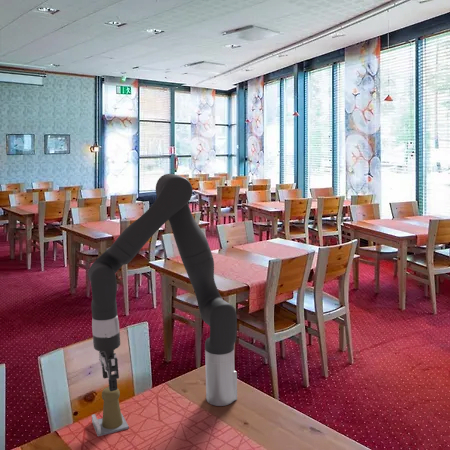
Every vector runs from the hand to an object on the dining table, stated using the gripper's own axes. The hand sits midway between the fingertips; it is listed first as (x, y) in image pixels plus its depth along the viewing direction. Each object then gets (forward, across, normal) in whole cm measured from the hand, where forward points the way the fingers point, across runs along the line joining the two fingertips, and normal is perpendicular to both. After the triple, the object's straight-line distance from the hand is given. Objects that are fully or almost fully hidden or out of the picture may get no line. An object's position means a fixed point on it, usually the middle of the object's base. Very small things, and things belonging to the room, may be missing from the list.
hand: (110, 383), depth 147 cm
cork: (+13, 0, 0) cm, 13 cm away
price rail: (+13, 0, -5) cm, 14 cm away
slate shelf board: (+13, 0, 0) cm, 13 cm away
